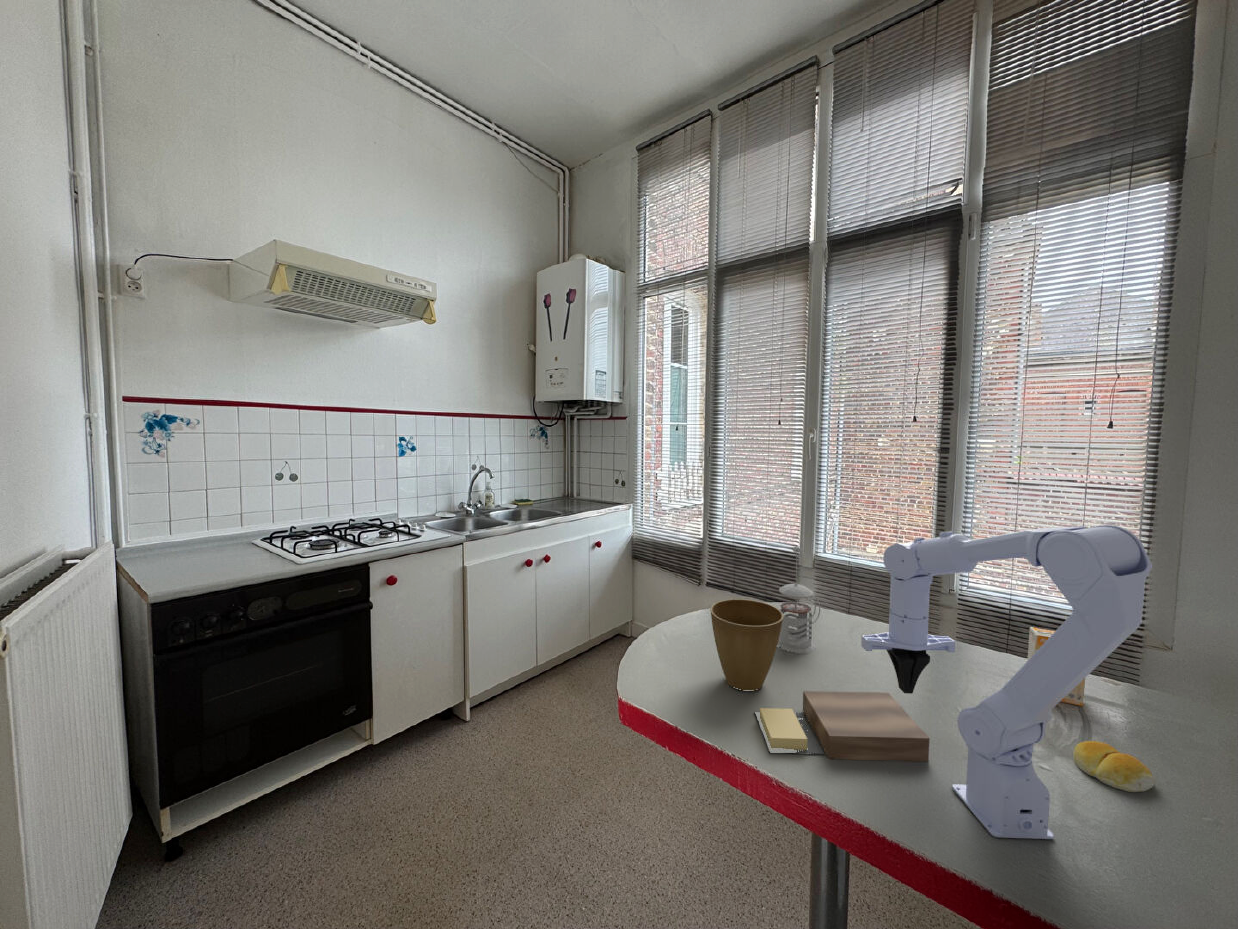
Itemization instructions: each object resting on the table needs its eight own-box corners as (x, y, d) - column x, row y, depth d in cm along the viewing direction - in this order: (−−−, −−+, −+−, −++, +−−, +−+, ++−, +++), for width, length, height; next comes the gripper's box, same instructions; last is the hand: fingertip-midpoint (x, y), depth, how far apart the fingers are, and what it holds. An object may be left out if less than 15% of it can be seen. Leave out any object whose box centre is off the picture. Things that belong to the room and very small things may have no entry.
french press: (766, 639, 130) (768, 543, 128) (804, 633, 134) (806, 540, 131) (790, 655, 121) (792, 553, 119) (830, 649, 124) (833, 549, 122)
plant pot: (704, 695, 103) (705, 619, 102) (715, 662, 117) (715, 595, 116) (781, 708, 99) (782, 629, 97) (782, 672, 113) (783, 602, 111)
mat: (823, 755, 85) (823, 753, 85) (769, 753, 85) (769, 752, 85) (801, 713, 97) (801, 712, 97) (754, 712, 97) (754, 711, 97)
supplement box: (1030, 697, 102) (1034, 634, 101) (1025, 686, 106) (1028, 625, 105) (1084, 708, 98) (1089, 642, 97) (1076, 696, 102) (1080, 633, 101)
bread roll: (1096, 751, 85) (1097, 729, 85) (1163, 789, 77) (1165, 764, 76) (1057, 759, 84) (1059, 736, 83) (1122, 798, 75) (1124, 773, 74)
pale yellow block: (771, 738, 86) (771, 749, 86) (807, 739, 85) (807, 750, 86) (759, 708, 95) (759, 718, 95) (792, 708, 94) (792, 719, 94)
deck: (928, 761, 83) (929, 738, 83) (829, 759, 84) (829, 736, 83) (887, 712, 97) (888, 692, 97) (802, 711, 98) (803, 691, 97)
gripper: (939, 604, 89) (936, 679, 90) (854, 604, 89) (852, 677, 91) (964, 620, 82) (960, 701, 83) (872, 619, 82) (870, 699, 84)
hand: (905, 690), depth 86 cm, fingers closed
